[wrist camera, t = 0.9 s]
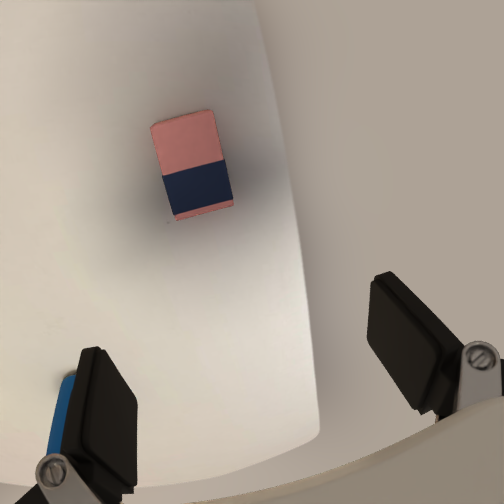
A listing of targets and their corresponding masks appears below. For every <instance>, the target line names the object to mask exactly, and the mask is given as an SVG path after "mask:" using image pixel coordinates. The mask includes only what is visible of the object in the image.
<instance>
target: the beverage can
mask: <svg viewBox="0 0 504 504" xmlns="http://www.w3.org/2000/svg"><path fill="white" fill-rule="evenodd" d="M75 376H76V375H70V376H68V377H66V378H65V379H64V380H63V381H62V383H61V387H60V391H59V395H58V399H57V404H56V408H55V412H54V417H53V421H52V426H51V431H50V436H49V442H48V447H47V453H46V456H47V455H48V454H52V453H57V454H60V447H61V441H62V435H63V429H64V424H65V418H66V413H67V408H68V403H69V398H70V394H71V391H72V389H73V385H74V380H75Z"/></svg>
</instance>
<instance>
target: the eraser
mask: <svg viewBox="0 0 504 504" xmlns="http://www.w3.org/2000/svg"><path fill="white" fill-rule="evenodd" d="M150 130H151V134H152V138H153V141H154V145H155V149H156V153H157V156H158V160H159V164H160V167H161V171H162V174H163V175H162V178H163V181H164V185H165V188H166V192H167V195H168V198H169V202H170V205H171V209H172V212H173V215H174V216H175V219H176V221H178V220H182V219H185V218H189V217H192V216H196V215H200V214H203V213H207V212H211V211H215V210H218V209H222V208H226V207H230V206H233V205H234V203H233V195H232V190H231V186H230V182H229V177H228V173H227V168H226V164H225V160H224V158H223V154H222V150H221V145H220V141H219V136H218V132H217V127H216V123H215V118H214V114H213V111H211V110H204V111H199V112H195V113H191V114H187V115H184V116H180V117H176V118H172V119H169V120H165V121H162V122H158V123H155V124H154V125H152V126H151V127H150Z"/></svg>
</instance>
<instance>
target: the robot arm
mask: <svg viewBox="0 0 504 504" xmlns="http://www.w3.org/2000/svg"><path fill="white" fill-rule="evenodd" d="M370 287H371V288H370V302H369V316H368V327H367V341H368V343H369V345H370V347H371V348H372V350H373V351H374V352H375V354H376V355H377V357H378V358H379V360H380V361H381V363H382V364H383V366H384V367H385V369H386V370H387V371H388V373H389V375H390V376H391V377H392V379H393V380H394V382H395V383H396V385H397V386H398V388H399V389H400V391H401V392H402V394H403V395H404V397H405V398H406V400H407V401H408V403H409V404H410V406H411V407H412V409H414V410H418V411H419V413H420V414H421V415H422V414H425V413H427V412H428V411H430V410H433V411H434V413H435V414H436V419H435V424H433V425H431V426H429V427H428V428H426V429H424V430H422V431H420V432H418V433H416V434H414V435H412V436H410V437H408V438H405V439H403V440H401V441H399V442H397V443H395V444H393V445H391V446H389V447H387V448H384V449H382V450H380V451H377V452H375V453H373V454H370V455H368V456H366V457H363V458H361V459H358V460H356V461H353V462H351V463H348V464H345V465H342V466H340V467H337V468H334V469H331V470H329V471H326V472H323V473H320V474H317V475H314V476H311V477H307V478H304V479H301V480H297V481H294V482H291V483H287V484H283V485H280V486H276V487H272V488H268V489H264V490H259V491H255V492H250V493H246V494H241V495H236V496H232V497H226V498H220V499H214V500H207V501H201V502H193V503H185V504H504V359H500V356H499V353H498V351H497V350H496V348H494V347H493V346H492V345H491V344H489V343H487V342H483V341H474V342H470V343H468V344H467V345H465V346H464V345H463V344H462V343H461V342H460V341H459V340H458V338H457V337H456V336H455V335H454V334H453V333H452V332H451V331H450V330H449V329H448V328H447V327H446V326H445V325H444V324H443V322H442V321H441V320H440V319H439V318H438V317H437V316H436V315H435V314H434V313H433V312H432V311H431V310H430V309H429V308H428V307H427V306H426V305H425V304H424V303H423V302H422V301H421V300H420V299H419V298H418V297H417V296H416V295H415V294H414V293H413V292H412V291H411V290H410V289H409V288H408V287H407V286H406V285H405V284H404V283H403V282H402V281H401V280H400V279H399V278H398V277H397V276H395V274H393V273H392V272H391V271H389V272H386V273H382V274H380V275H376V276H375V278H374V281H372V282H371V285H370ZM137 410H138V404H137V399H136V397H135V395H134V394H133V392H132V391H131V389H130V388H129V386H128V385H127V383H126V382H125V380H124V379H123V377H122V376H121V374H120V373H119V371H118V370H117V368H116V366H115V365H114V363H113V362H112V360H111V358H110V357H109V355H108V353H107V352H106V350H101V348H100V347H98V346H96V347H91V348H85V349H83V350H82V352H81V356H80V360H79V364H78V368H77V372H76V376H75V380H74V385H73V389H72V391H71V394H70V398H69V403H68V408H67V413H66V418H65V424H64V429H63V435H62V441H61V447H60V454H57V453H52V454H48V455H47V456H45V457H43V458H42V459H41V460H40V461H39V463H38V465H37V467H36V472H35V475H36V481H37V484H36V485H35V486H34V487H33V488H31V489H30V490H29V491H28V492H27V493H26V494H25V495H24V496H23V497H22V498H20V499H19V500H18V501H17V502H16V503H15V504H124V503H122V494H134V486H136V485H137Z"/></svg>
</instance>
